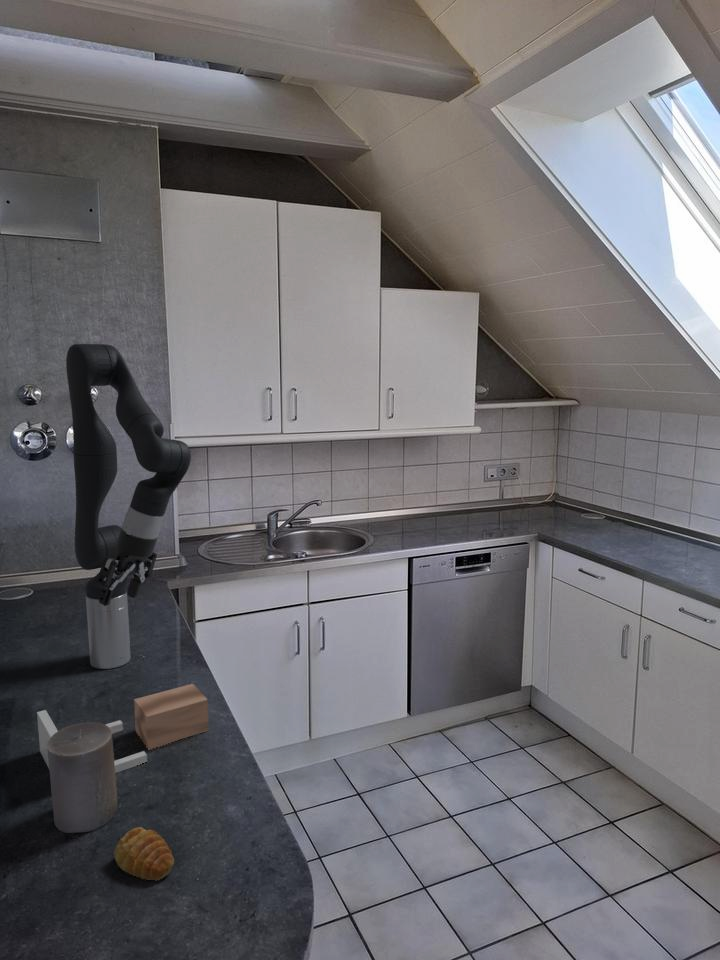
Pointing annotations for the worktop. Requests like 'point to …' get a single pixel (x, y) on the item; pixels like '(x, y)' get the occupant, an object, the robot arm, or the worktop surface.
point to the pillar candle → (82, 777)
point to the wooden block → (171, 715)
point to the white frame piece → (49, 729)
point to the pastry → (144, 854)
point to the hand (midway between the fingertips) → (117, 600)
